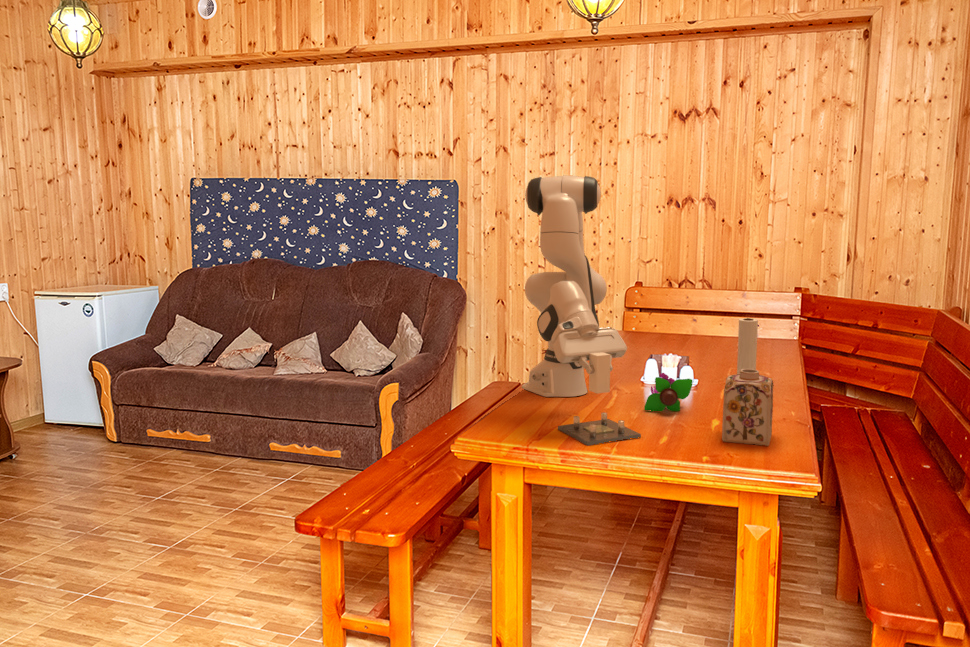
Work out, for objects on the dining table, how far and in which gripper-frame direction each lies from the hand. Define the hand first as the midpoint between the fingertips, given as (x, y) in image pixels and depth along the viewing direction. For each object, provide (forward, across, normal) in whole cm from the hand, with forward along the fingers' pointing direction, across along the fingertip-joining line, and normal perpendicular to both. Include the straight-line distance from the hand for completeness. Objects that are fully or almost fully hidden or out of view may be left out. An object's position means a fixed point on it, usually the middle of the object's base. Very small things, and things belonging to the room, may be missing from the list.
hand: (600, 371), depth 213 cm
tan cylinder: (-10, -76, -34) cm, 84 cm away
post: (+3, 0, -4) cm, 5 cm away
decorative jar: (+26, -33, +1) cm, 42 cm away
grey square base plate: (+12, 0, -13) cm, 17 cm away
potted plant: (-3, -36, -28) cm, 46 cm away
